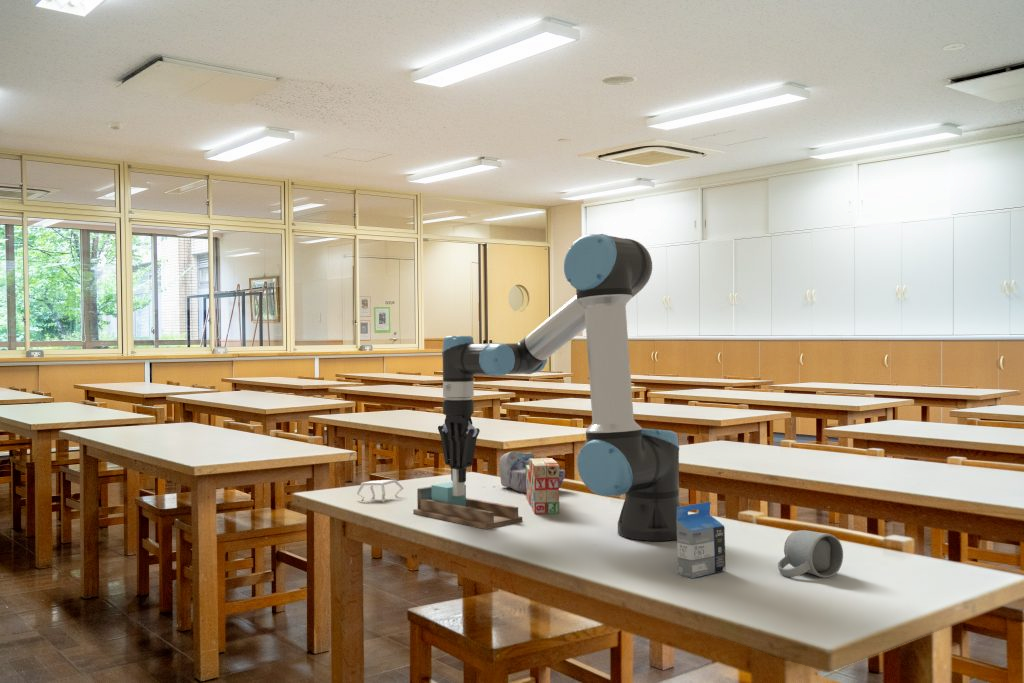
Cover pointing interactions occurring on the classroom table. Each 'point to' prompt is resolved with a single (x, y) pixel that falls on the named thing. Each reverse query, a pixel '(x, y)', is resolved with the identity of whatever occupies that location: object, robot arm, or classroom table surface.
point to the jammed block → (447, 494)
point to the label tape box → (699, 542)
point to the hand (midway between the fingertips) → (458, 495)
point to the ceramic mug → (811, 554)
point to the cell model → (518, 470)
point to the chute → (466, 511)
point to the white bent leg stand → (382, 482)
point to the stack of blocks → (543, 485)
